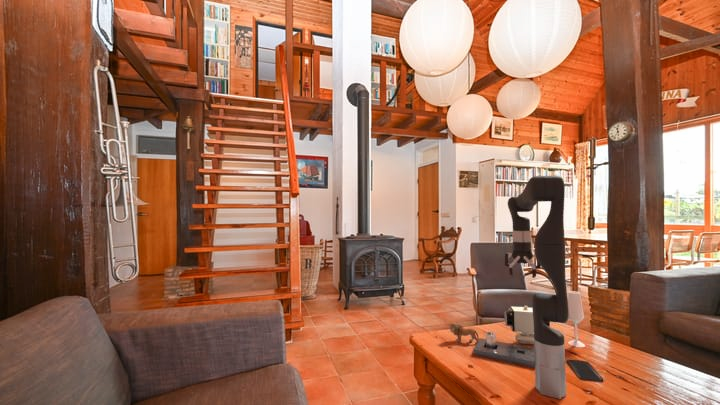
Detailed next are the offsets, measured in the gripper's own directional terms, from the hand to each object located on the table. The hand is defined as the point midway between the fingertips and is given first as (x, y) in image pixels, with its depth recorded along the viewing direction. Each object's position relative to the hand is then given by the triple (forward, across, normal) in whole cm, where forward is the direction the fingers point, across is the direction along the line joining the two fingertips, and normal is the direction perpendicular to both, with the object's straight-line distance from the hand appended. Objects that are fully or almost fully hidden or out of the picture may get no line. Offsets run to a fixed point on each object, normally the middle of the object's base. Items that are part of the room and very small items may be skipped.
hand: (522, 276), depth 143 cm
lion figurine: (+33, -26, -3) cm, 42 cm away
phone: (+34, +21, -8) cm, 41 cm away
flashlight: (+33, -13, -8) cm, 36 cm away
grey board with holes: (+33, -7, -8) cm, 35 cm away
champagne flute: (+33, +20, +20) cm, 44 cm away
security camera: (+33, 0, +10) cm, 35 cm away
